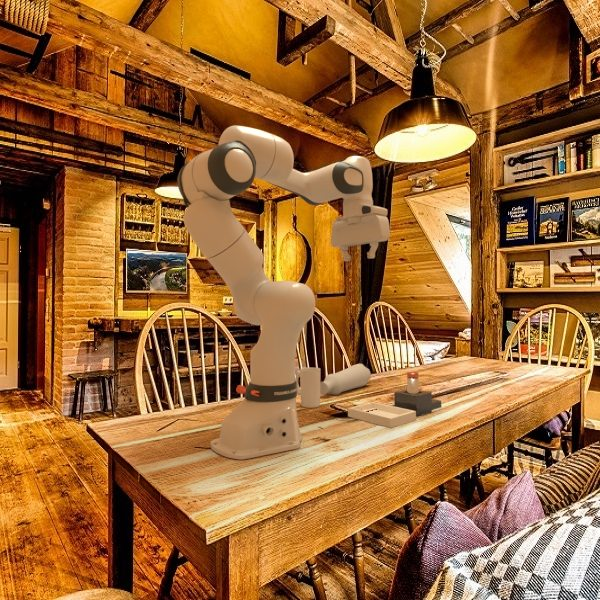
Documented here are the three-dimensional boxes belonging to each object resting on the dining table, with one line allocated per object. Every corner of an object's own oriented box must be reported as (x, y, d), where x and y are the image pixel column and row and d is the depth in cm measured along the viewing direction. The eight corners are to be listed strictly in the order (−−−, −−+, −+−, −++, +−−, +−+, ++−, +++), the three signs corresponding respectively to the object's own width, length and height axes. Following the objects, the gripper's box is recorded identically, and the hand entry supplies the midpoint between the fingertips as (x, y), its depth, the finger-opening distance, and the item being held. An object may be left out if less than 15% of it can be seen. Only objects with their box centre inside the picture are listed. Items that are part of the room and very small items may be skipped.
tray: (391, 428, 112) (391, 418, 112) (348, 416, 124) (347, 408, 124) (416, 420, 120) (415, 411, 120) (373, 409, 132) (373, 401, 132)
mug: (324, 405, 138) (324, 368, 138) (311, 409, 133) (311, 371, 133) (302, 400, 145) (302, 366, 145) (288, 404, 140) (288, 368, 140)
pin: (414, 413, 127) (414, 374, 127) (405, 411, 129) (404, 372, 129) (421, 411, 129) (420, 372, 129) (411, 409, 131) (411, 371, 132)
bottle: (349, 375, 176) (308, 389, 152) (359, 358, 173) (319, 370, 149) (365, 389, 172) (325, 406, 148) (376, 372, 169) (337, 386, 145)
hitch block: (416, 416, 123) (416, 396, 123) (394, 411, 129) (394, 392, 129) (445, 407, 134) (445, 388, 134) (423, 403, 140) (423, 385, 140)
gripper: (325, 217, 130) (326, 261, 130) (378, 205, 115) (379, 255, 115) (340, 219, 135) (340, 262, 135) (392, 208, 119) (393, 257, 119)
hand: (358, 259), depth 125 cm, fingers open, 8 cm apart
